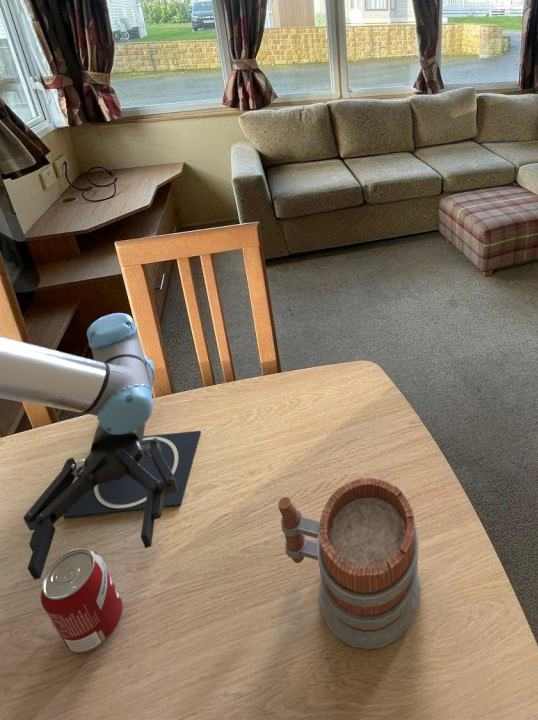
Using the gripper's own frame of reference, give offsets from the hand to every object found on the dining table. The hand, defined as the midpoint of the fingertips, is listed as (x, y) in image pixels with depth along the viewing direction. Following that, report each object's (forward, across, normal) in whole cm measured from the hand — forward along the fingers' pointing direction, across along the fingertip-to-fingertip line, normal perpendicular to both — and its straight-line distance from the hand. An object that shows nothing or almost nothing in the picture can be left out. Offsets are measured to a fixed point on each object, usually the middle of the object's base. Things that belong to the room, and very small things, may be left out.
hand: (91, 557), depth 65 cm
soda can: (+5, 0, -7) cm, 8 cm away
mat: (-17, -2, -6) cm, 18 cm away
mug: (+10, -34, -7) cm, 36 cm away
